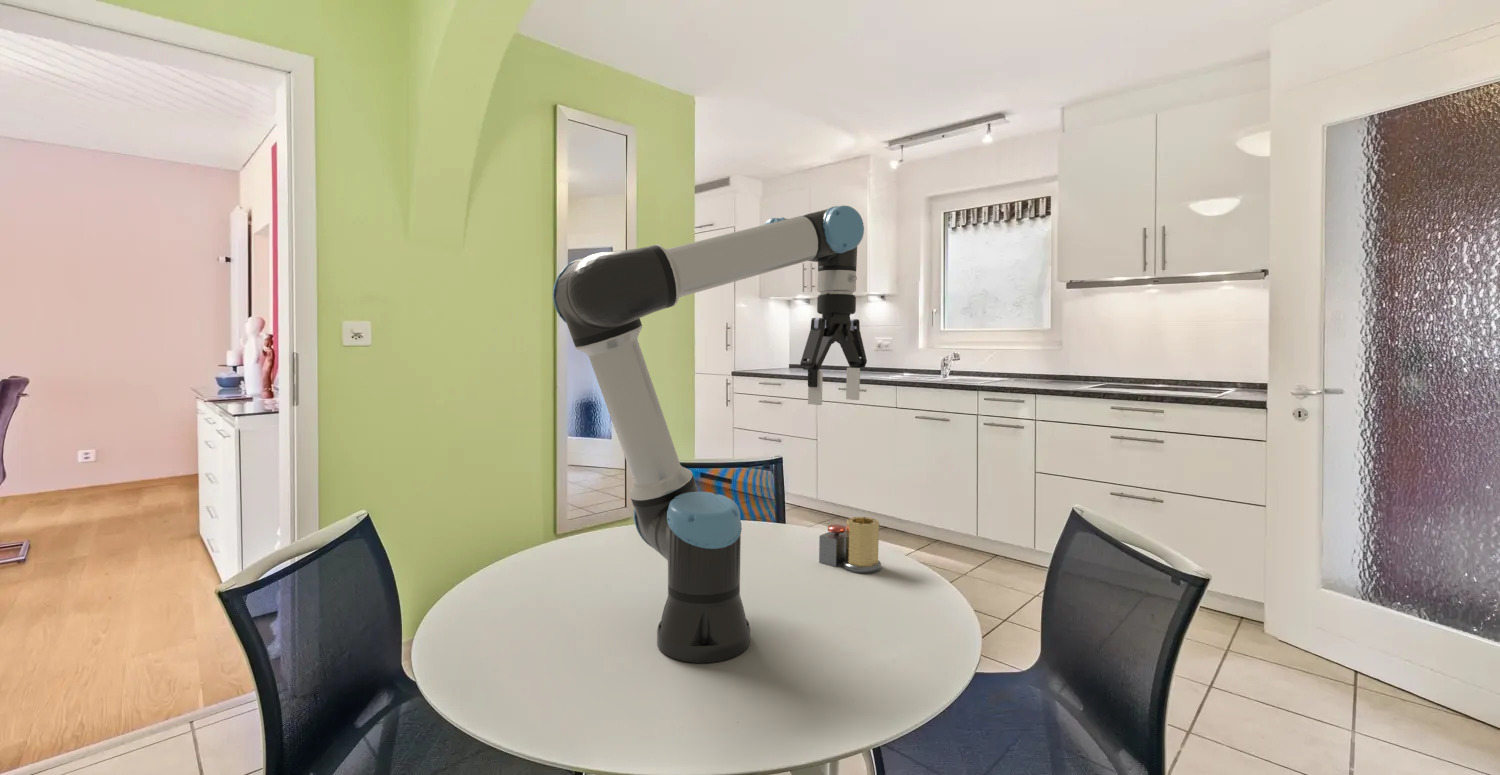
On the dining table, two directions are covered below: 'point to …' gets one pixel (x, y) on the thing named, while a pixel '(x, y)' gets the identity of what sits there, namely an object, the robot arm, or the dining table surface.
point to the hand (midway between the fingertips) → (834, 402)
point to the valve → (839, 551)
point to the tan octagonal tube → (862, 541)
